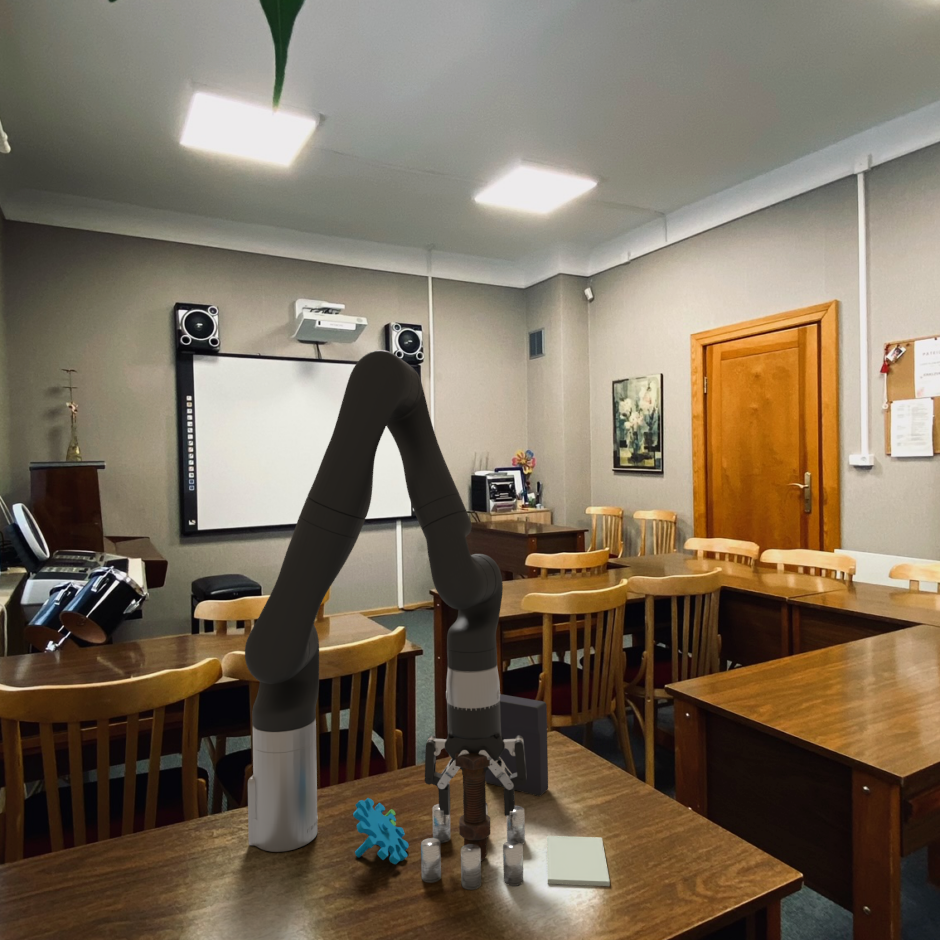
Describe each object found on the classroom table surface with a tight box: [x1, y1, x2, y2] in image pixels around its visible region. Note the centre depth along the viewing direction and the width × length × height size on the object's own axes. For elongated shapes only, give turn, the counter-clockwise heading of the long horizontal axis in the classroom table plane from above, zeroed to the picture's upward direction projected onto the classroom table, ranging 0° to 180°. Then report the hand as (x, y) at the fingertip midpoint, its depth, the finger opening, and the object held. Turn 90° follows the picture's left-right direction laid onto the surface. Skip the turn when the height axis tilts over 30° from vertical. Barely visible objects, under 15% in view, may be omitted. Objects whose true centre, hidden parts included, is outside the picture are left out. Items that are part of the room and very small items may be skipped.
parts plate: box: [546, 835, 611, 887], centre depth 95 cm, size 8×11×1 cm
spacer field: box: [420, 802, 526, 891], centre depth 96 cm, size 14×15×4 cm
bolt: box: [455, 753, 492, 861], centre depth 96 cm, size 6×5×15 cm
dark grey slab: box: [485, 693, 549, 797], centre depth 119 cm, size 11×4×15 cm, turn 58°
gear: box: [352, 797, 409, 865], centre depth 98 cm, size 11×6×10 cm
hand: (477, 812), depth 97 cm, fingers open, 8 cm apart
